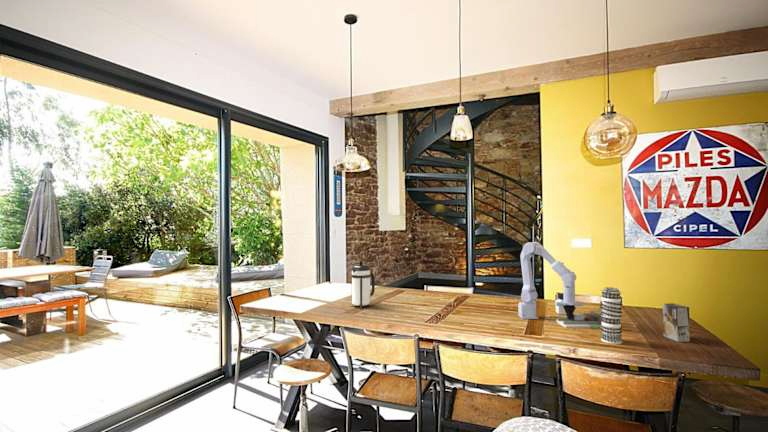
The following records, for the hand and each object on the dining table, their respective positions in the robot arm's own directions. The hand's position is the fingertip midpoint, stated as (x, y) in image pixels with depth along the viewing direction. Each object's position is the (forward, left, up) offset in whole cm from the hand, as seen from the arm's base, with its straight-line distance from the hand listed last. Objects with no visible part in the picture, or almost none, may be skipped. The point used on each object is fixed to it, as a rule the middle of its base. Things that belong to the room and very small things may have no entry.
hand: (569, 319), depth 210 cm
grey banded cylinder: (+7, -28, -3) cm, 29 cm away
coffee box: (+40, -24, -3) cm, 47 cm away
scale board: (+5, 0, -3) cm, 6 cm away
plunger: (+5, 0, -1) cm, 6 cm away
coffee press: (-116, +44, -3) cm, 124 cm away
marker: (+11, 0, -1) cm, 11 cm away
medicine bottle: (+8, +25, -3) cm, 26 cm away
